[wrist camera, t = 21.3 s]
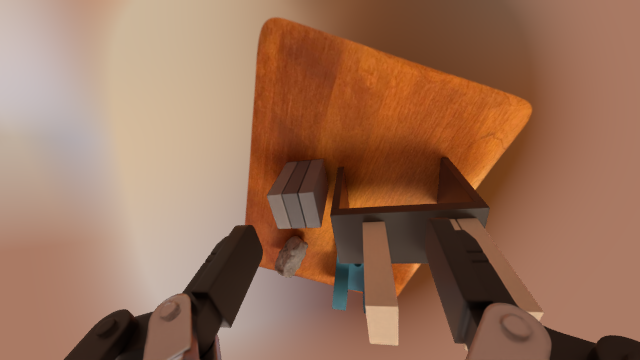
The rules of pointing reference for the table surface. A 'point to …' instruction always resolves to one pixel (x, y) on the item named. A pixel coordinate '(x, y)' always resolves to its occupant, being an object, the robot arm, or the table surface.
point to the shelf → (403, 217)
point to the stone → (291, 257)
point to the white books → (500, 266)
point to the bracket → (347, 283)
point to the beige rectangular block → (379, 286)
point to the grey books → (299, 195)
